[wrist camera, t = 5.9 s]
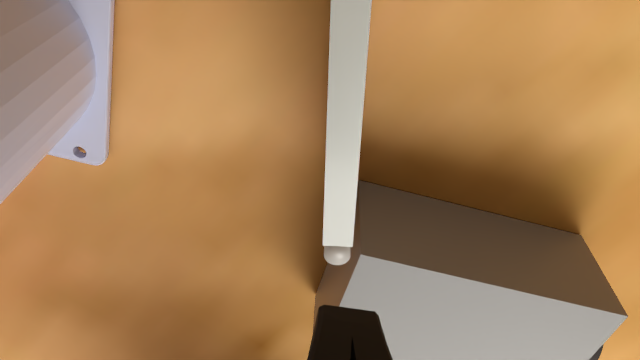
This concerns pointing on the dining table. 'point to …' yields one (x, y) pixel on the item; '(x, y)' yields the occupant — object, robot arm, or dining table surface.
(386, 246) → the camera case
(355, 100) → the side door
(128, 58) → the dining table surface
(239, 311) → the dining table surface
